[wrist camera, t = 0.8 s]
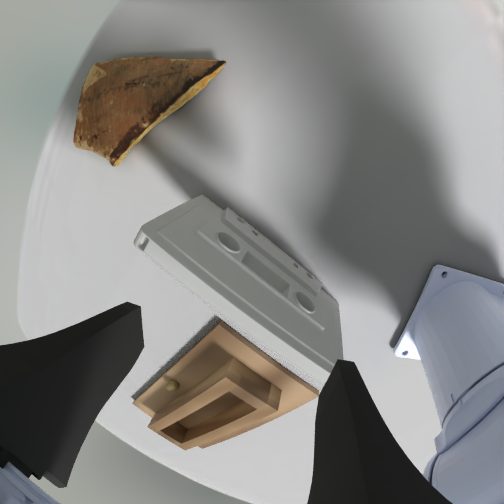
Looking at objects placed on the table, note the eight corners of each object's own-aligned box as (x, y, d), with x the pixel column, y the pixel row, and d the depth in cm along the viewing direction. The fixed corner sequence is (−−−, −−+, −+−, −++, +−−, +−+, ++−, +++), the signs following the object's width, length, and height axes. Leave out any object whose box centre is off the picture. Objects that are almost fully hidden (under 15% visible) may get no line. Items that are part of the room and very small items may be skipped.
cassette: (191, 208, 19) (125, 249, 12) (206, 186, 18) (141, 217, 11) (325, 314, 20) (326, 396, 13) (344, 298, 19) (353, 378, 12)
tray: (318, 391, 22) (317, 417, 20) (203, 445, 31) (196, 462, 28) (221, 320, 21) (208, 344, 19) (134, 400, 30) (123, 416, 27)
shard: (234, 67, 14) (224, 59, 12) (206, 184, 17) (194, 188, 16) (102, 63, 15) (86, 60, 14) (85, 156, 18) (70, 159, 17)
